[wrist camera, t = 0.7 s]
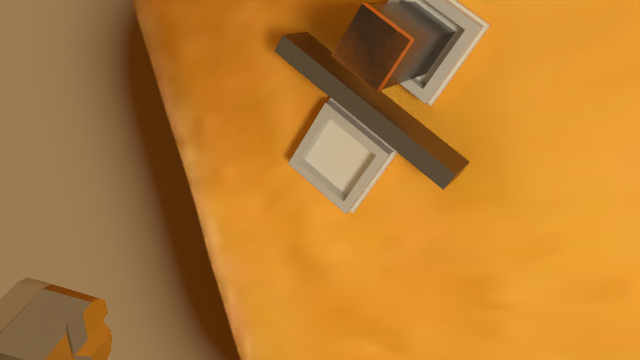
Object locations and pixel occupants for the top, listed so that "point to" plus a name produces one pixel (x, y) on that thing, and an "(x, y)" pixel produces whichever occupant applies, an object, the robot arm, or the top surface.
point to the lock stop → (391, 43)
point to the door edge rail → (373, 109)
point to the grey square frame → (447, 46)
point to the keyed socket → (341, 157)
